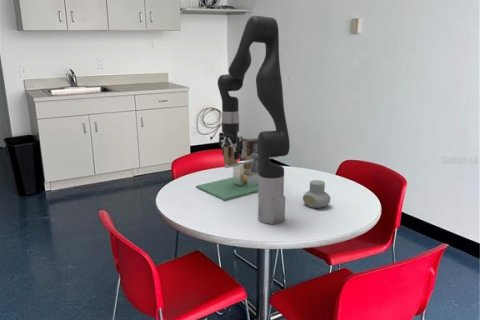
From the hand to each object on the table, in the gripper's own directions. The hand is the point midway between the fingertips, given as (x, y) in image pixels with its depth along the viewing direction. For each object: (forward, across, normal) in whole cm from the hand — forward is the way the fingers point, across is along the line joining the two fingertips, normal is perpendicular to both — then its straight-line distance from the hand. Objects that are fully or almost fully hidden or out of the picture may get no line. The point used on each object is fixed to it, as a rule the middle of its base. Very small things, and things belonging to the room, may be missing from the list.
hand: (230, 157), depth 189 cm
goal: (+14, 0, -9) cm, 16 cm away
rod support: (+15, 0, -16) cm, 21 cm away
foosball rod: (+13, 0, -13) cm, 18 cm away
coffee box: (+15, +18, -26) cm, 35 cm away
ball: (+12, 0, -8) cm, 14 cm away
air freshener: (+15, -38, -14) cm, 43 cm away
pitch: (+15, 0, 0) cm, 15 cm away
